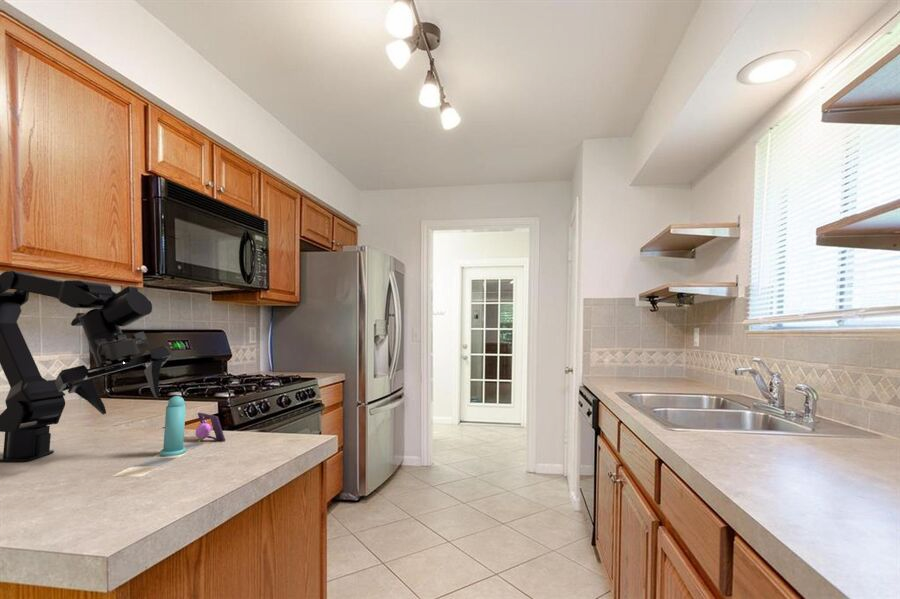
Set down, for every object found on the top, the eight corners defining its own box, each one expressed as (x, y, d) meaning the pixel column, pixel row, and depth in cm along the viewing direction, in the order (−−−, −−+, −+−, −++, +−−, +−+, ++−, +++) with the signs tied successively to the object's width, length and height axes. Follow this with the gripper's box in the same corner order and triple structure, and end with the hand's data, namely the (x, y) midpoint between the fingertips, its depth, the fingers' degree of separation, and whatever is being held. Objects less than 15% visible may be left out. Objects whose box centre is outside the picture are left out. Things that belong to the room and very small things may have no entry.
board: (90, 483, 75) (90, 479, 75) (176, 444, 101) (176, 441, 101) (137, 483, 75) (137, 478, 75) (210, 444, 101) (210, 441, 101)
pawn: (158, 457, 88) (162, 398, 89) (162, 451, 92) (165, 395, 93) (184, 454, 90) (187, 397, 91) (186, 449, 94) (190, 394, 95)
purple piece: (220, 414, 104) (201, 410, 109) (199, 425, 100) (180, 421, 104) (228, 439, 105) (209, 434, 110) (207, 451, 101) (188, 445, 106)
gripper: (53, 333, 77) (83, 412, 75) (166, 312, 92) (193, 378, 90) (43, 353, 83) (70, 427, 82) (150, 331, 98) (175, 393, 97)
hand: (131, 404), depth 87 cm, fingers open, 9 cm apart
